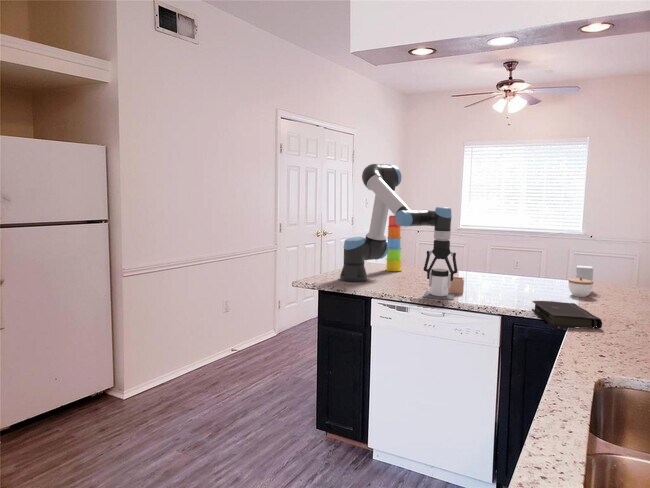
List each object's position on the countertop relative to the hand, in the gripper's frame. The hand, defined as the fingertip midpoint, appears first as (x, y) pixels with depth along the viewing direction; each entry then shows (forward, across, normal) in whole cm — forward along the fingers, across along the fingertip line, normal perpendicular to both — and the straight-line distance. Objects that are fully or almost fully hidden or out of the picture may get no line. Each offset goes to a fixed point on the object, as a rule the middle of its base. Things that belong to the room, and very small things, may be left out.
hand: (439, 286), depth 226 cm
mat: (+4, 0, 0) cm, 4 cm away
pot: (+4, +7, +12) cm, 15 cm away
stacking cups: (+5, -34, +62) cm, 71 cm away
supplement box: (+5, +69, +44) cm, 82 cm away
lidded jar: (+5, +65, +29) cm, 71 cm away
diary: (+5, +51, -23) cm, 56 cm away
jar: (+4, 0, 0) cm, 4 cm away
